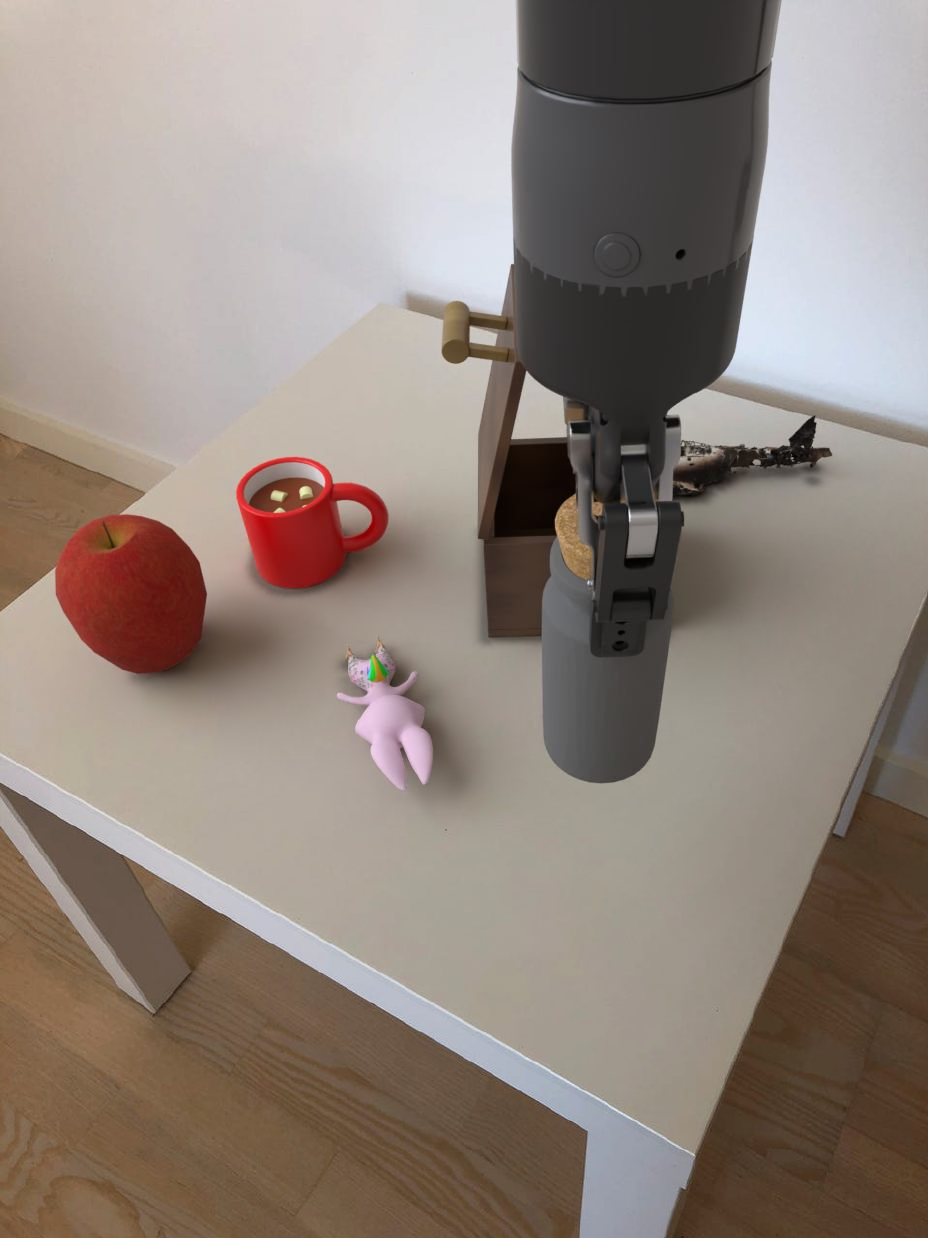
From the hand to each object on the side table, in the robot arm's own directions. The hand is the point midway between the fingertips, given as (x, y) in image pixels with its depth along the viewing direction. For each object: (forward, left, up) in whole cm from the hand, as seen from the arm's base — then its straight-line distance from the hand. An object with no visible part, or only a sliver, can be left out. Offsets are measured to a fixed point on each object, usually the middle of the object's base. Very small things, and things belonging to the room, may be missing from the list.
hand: (608, 595), depth 42 cm
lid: (+4, -27, -8) cm, 28 cm away
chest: (-1, -27, -25) cm, 37 cm away
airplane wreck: (-15, -39, -25) cm, 49 cm away
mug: (+20, -31, -25) cm, 45 cm away
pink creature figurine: (+13, -12, -25) cm, 31 cm away
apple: (+32, -20, -25) cm, 46 cm away
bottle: (0, 0, -11) cm, 11 cm away
